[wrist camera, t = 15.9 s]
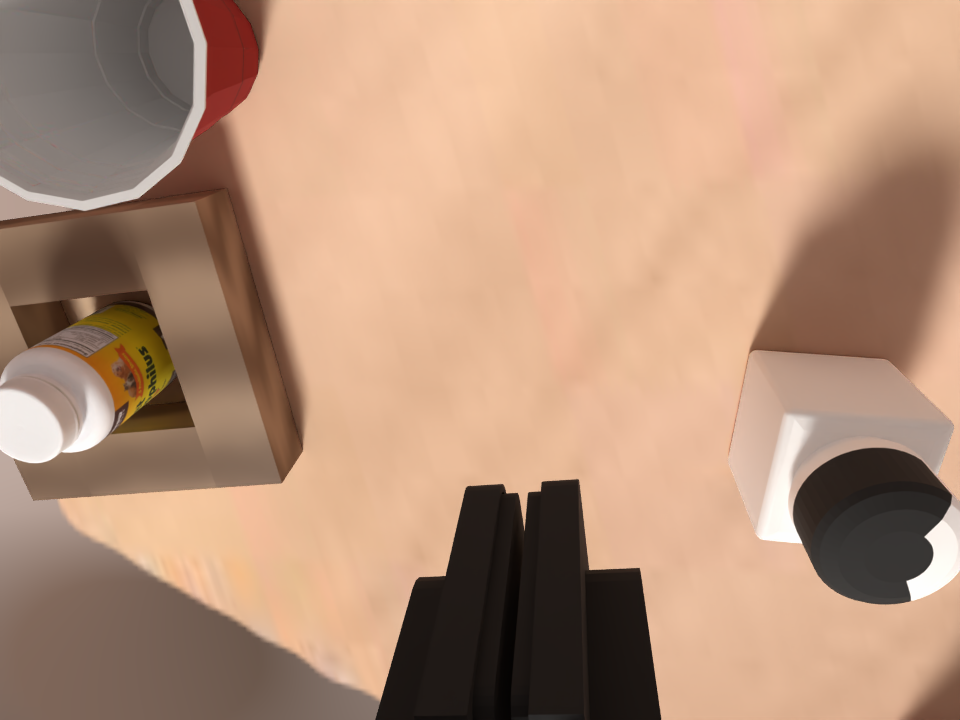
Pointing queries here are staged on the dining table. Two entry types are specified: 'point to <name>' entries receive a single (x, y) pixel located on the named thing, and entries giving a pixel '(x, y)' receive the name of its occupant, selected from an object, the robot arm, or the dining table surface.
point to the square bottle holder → (187, 333)
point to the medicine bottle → (848, 472)
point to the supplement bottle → (82, 382)
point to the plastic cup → (113, 92)
